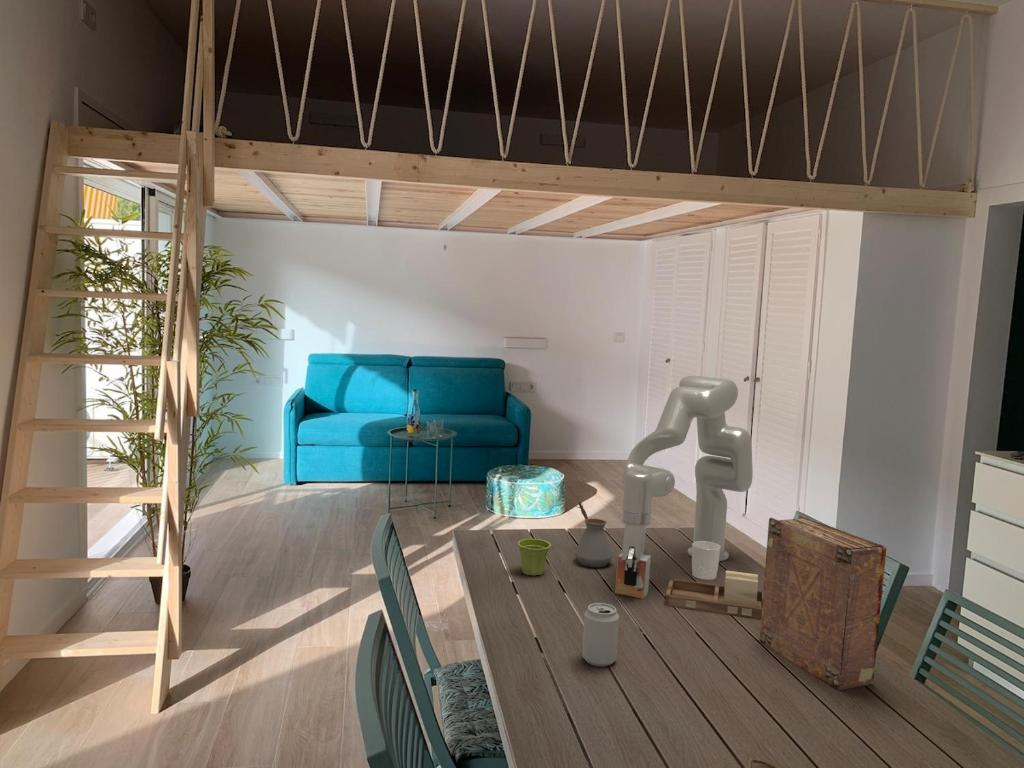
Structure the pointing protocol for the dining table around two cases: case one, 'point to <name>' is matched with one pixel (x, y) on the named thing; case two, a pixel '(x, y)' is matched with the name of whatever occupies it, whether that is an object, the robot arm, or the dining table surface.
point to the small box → (642, 578)
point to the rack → (708, 599)
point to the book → (823, 600)
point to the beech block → (741, 588)
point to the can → (600, 634)
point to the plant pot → (533, 555)
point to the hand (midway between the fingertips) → (632, 579)
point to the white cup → (705, 559)
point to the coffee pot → (593, 543)
